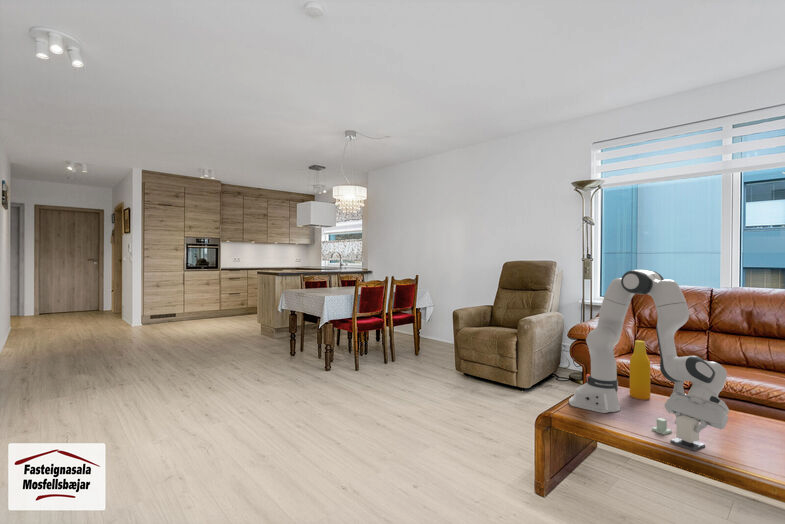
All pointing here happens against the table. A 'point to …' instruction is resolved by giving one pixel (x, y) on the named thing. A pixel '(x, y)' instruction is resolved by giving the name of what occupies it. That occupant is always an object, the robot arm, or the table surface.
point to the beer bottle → (640, 372)
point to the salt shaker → (678, 387)
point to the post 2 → (688, 444)
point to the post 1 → (662, 427)
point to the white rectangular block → (687, 428)
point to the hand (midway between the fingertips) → (686, 428)
